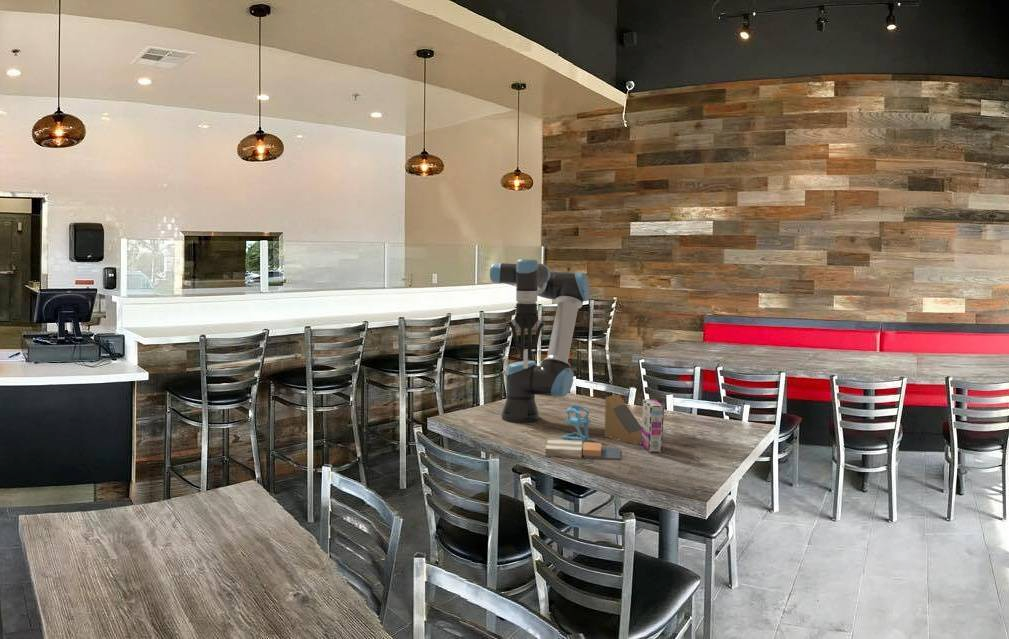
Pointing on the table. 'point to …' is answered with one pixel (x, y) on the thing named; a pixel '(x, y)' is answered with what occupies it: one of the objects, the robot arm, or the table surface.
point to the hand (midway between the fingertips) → (525, 367)
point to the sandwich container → (621, 421)
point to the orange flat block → (591, 449)
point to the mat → (608, 453)
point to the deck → (564, 448)
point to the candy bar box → (652, 426)
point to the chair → (577, 423)
